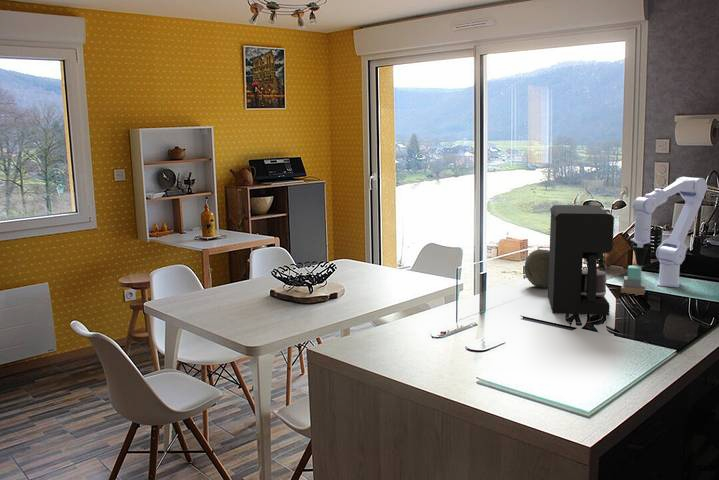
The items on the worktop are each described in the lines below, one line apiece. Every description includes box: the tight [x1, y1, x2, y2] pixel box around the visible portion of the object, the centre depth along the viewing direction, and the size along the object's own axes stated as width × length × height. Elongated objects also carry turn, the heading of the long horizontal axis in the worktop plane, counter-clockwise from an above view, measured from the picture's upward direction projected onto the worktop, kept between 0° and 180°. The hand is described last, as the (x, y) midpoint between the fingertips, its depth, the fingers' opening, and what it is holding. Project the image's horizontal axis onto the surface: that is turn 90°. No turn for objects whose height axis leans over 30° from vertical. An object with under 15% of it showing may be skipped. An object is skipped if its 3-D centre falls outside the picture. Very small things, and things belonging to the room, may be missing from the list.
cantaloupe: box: [524, 249, 550, 289], centre depth 271 cm, size 14×14×15 cm
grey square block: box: [623, 275, 642, 288], centre depth 262 cm, size 6×6×3 cm
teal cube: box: [626, 265, 643, 280], centre depth 260 cm, size 4×4×4 cm
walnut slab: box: [620, 282, 646, 296], centre depth 261 cm, size 8×8×3 cm
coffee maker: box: [547, 204, 615, 316], centre depth 239 cm, size 28×20×35 cm
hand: (640, 262), depth 265 cm, fingers open, 7 cm apart
